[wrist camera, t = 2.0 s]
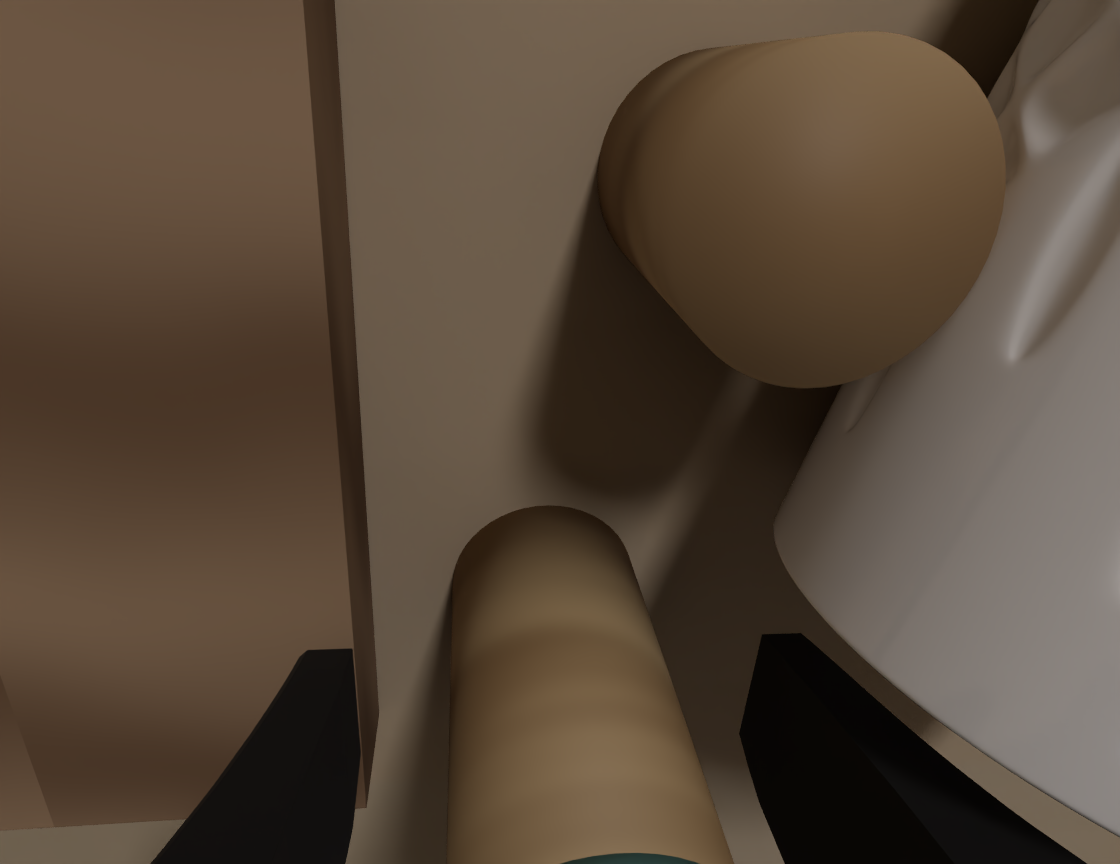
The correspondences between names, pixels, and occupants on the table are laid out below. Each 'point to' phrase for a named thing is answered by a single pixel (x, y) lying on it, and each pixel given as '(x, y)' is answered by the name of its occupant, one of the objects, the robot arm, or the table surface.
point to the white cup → (999, 454)
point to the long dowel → (566, 707)
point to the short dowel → (807, 198)
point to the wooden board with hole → (171, 397)
